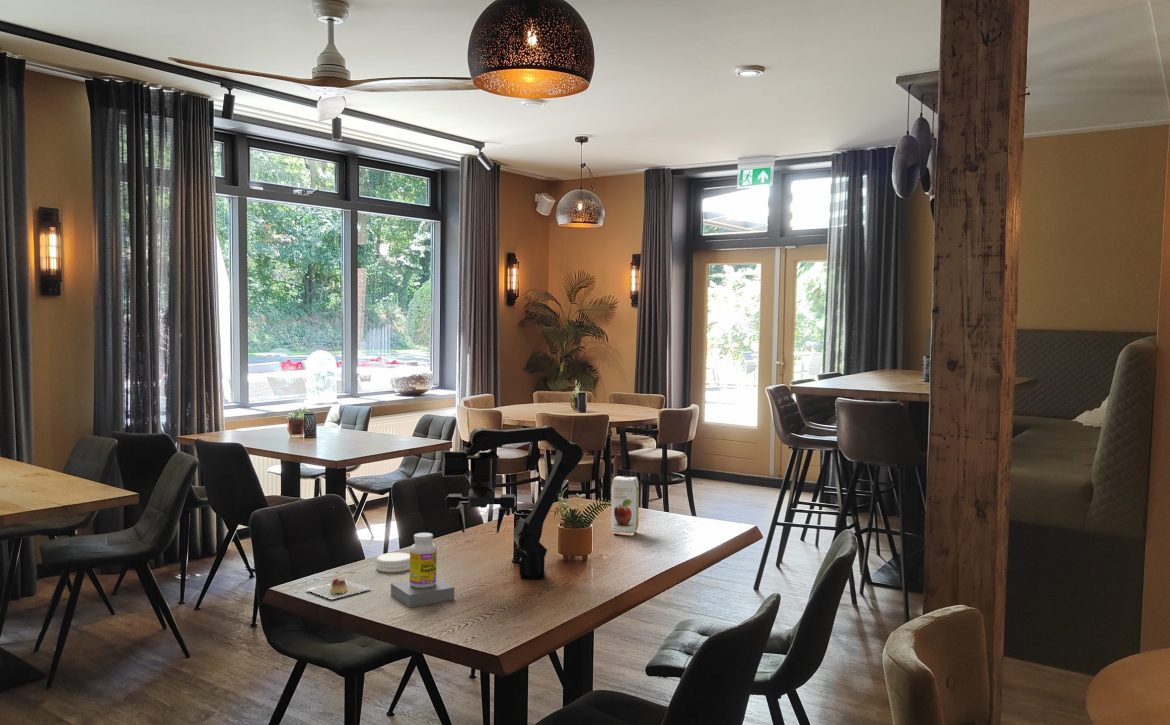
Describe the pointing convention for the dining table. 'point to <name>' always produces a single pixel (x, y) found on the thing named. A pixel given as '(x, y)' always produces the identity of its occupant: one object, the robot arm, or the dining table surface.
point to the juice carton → (624, 504)
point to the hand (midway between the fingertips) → (480, 532)
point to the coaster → (393, 562)
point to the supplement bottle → (423, 561)
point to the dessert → (339, 587)
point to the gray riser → (422, 593)
